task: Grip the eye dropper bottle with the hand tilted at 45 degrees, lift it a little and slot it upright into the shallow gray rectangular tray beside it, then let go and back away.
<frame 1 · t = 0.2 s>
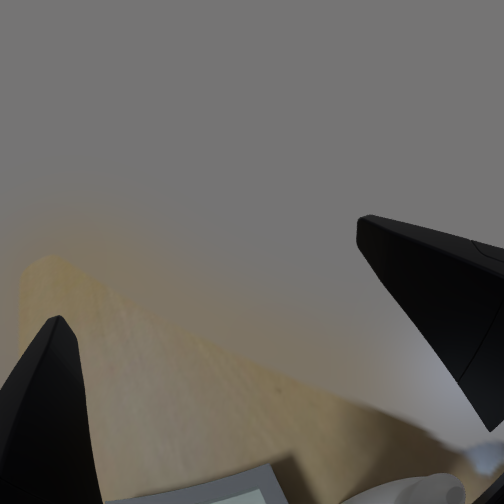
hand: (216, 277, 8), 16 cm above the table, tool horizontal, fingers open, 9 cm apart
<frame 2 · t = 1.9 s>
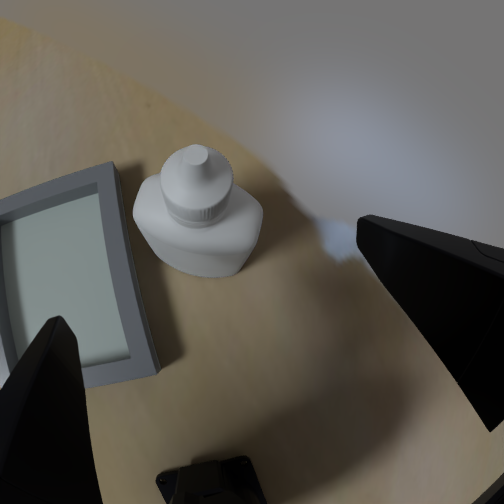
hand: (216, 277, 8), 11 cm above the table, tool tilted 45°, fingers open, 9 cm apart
gray rectangular tray: (58, 286, 18), on the table
eye dropper bottle: (199, 250, 20), on the table
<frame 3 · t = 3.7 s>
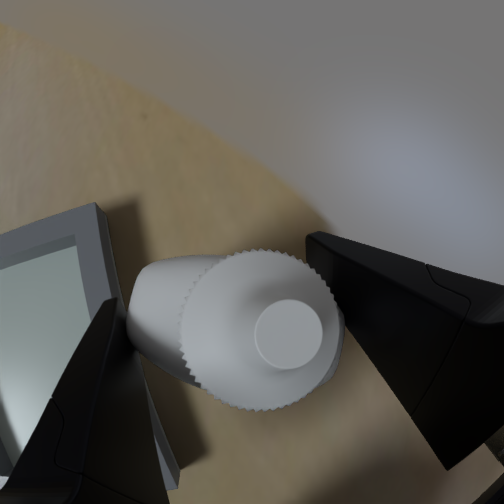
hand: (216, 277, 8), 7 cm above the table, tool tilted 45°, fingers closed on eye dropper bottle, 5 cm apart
gray rectangular tray: (39, 368, 13), on the table
eye dropper bottle: (222, 325, 15), on the table, touching gripper
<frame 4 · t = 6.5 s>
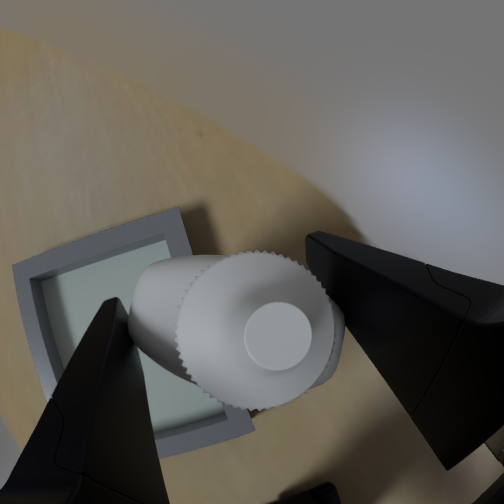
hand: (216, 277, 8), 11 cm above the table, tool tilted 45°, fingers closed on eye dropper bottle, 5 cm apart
gray rectangular tray: (125, 348, 17), on the table
eye dropper bottle: (225, 323, 15), point 4 cm above the table, touching gripper
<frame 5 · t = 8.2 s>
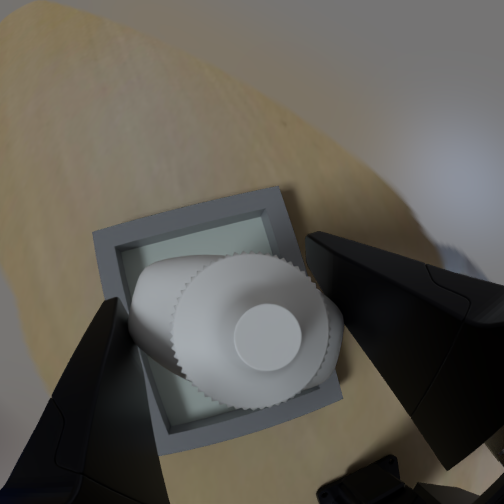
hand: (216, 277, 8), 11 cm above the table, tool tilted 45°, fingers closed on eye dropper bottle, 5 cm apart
gray rectangular tray: (215, 322, 19), on the table
eye dropper bottle: (227, 322, 15), point 4 cm above the table, touching gripper
when the fingers open (7 cm above the table, at t = 9.6 s): eye dropper bottle stays where it is, resting on gray rectangular tray.
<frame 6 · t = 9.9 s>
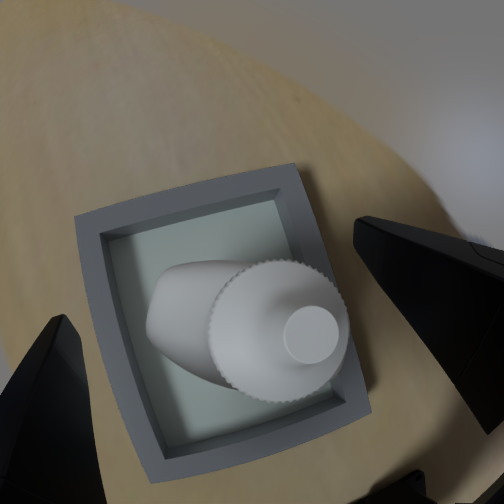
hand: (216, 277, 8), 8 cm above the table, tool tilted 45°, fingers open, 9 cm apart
gray rectangular tray: (220, 324, 15), on the table
eye dropper bottle: (229, 325, 15), resting on gray rectangular tray
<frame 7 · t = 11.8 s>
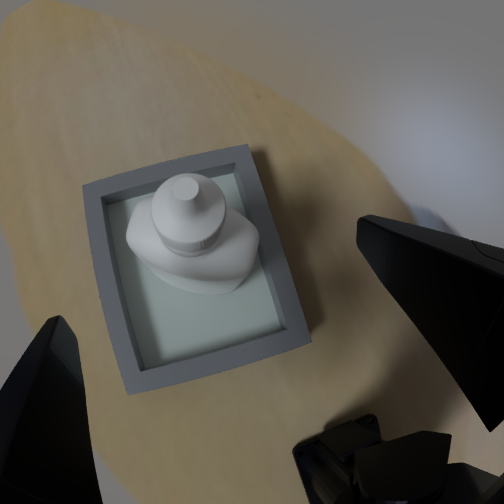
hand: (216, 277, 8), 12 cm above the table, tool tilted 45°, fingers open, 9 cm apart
gray rectangular tray: (189, 266, 20), on the table
eye dropper bottle: (196, 266, 20), resting on gray rectangular tray
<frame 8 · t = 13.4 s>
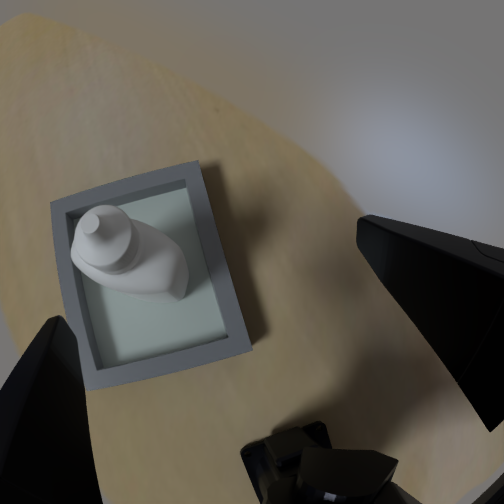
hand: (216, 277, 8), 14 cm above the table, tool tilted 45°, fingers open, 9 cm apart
gray rectangular tray: (143, 276, 21), on the table
eye dropper bottle: (149, 276, 21), resting on gray rectangular tray
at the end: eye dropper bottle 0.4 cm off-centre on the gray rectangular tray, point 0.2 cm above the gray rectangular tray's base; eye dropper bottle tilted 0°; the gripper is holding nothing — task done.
